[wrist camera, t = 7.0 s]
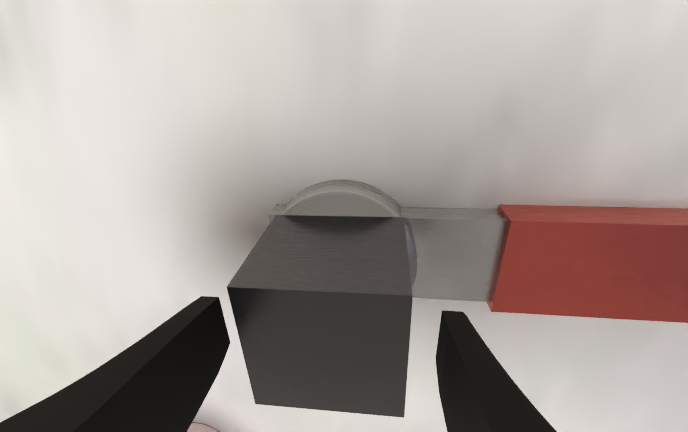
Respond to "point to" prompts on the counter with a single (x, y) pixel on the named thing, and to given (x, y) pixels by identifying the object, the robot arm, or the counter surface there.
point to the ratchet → (531, 253)
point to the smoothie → (200, 428)
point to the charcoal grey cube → (327, 313)
